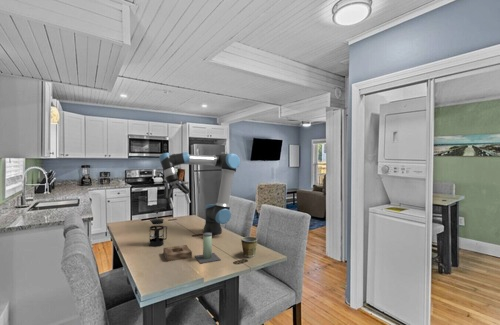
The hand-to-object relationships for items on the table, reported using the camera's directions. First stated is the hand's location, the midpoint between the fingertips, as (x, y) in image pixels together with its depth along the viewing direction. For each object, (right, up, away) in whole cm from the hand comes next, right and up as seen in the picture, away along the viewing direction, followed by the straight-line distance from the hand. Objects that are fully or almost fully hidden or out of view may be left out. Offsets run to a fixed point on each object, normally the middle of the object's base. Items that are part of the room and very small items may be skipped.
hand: (181, 205), depth 166 cm
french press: (-18, -28, +6) cm, 34 cm away
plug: (+20, -28, -18) cm, 39 cm away
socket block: (+2, -28, -14) cm, 31 cm away
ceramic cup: (+44, -29, -10) cm, 54 cm away
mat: (+20, -28, -18) cm, 39 cm away
